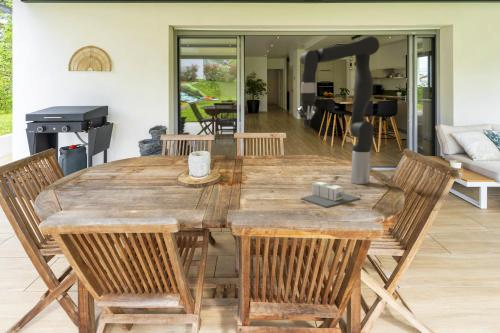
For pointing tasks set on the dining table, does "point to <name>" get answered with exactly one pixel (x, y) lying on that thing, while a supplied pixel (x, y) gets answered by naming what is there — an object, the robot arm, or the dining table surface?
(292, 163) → the dining table surface
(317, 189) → the syrup box
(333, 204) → the charcoal mat
